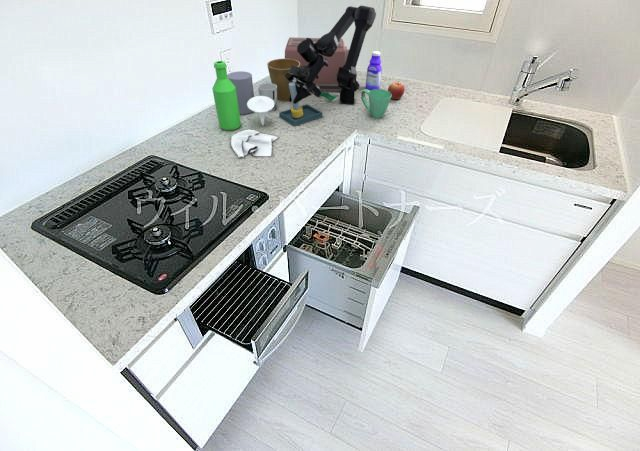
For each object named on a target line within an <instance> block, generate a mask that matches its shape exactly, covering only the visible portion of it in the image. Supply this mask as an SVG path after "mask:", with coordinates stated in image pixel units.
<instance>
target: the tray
mask: <svg viewBox="0 0 640 451" xmlns="http://www.w3.org/2000/svg"><path fill="white" fill-rule="evenodd" d="M300 106H301V107H302V110H303V116H301V117H299V118H294V117H293V116H292V112H291V108H289V109H286V110H281V111H279V112H278V116H279V118H280V119H281V120H283V121H285V122H287V123H288V124H290V125H292V126H294V127H296V126H299V125H302V124H305V123H308V122H311V121H314V120H317V119H320V118H323V111H321V110H319V109H317V108H315V107H313V106H311V105H309V103H305V104H302V105H300Z"/></svg>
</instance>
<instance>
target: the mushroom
mask: <svg viewBox="0 0 640 451" xmlns="http://www.w3.org/2000/svg"><path fill="white" fill-rule="evenodd" d="M247 106H248V108H249V109H250V110H252V111H254V113H255V114H257V116H258V117H259V118H258V119H259V120H260V123H261V124H260V125H261V126H262V127H263V126H265V119H266V115H267V113H268V112H270V111H269V110H271V109H272V108H273V107H274V101H273V100H272V99H271V98H269V97H266V96H260V95H256V96H254V97H253V98H251V99H250V100H249V101H248V102H247Z"/></svg>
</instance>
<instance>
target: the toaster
mask: <svg viewBox="0 0 640 451" xmlns="http://www.w3.org/2000/svg"><path fill="white" fill-rule="evenodd" d="M307 38H308V37H293V36H292V37H288V39H287V42H286V45H285V48H284V59H294V60H297V61H299V62H300V68H301V67H302V66H306V65H307V64H308V62H306V61H305V60H304V59H303V58H302V56H301V55H300V54H299V53H298V52H297V47H298V45H299V44H300V43H301V42H302V41H304V40H306V39H307ZM310 38H311V39H312V41H313V43H316V42H317V41H318V40H319V39H320V38H321V37H310ZM349 49H350V48H349ZM349 49H348V46H346V45H345V41H344V40H343V38H341V39H340V40H339V42H338V48H337V49H336V51H335V53H334V54H333V56H331V57H327V56H324V55H322V56H323V58H325V59H328V67H326V66H323V67H322V69H321V70H320V72H319V74H318V75H317V76H318V77H319V78H318V79H316V78H315V80H314V81H313V83H314V84H316V85H317V86H320V89H321V90H322V91H324V92H334V93H335V92H338V93H340V90H342V88H341V87H339V86H338V82H337V74H338V70H339V67H343V66H344V65H345V63H346V59H347V56H348V52H349ZM319 55H321V54H319Z"/></svg>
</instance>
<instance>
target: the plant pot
mask: <svg viewBox="0 0 640 451" xmlns="http://www.w3.org/2000/svg"><path fill="white" fill-rule="evenodd" d="M291 65H294V66H297V67H300V62H299V61H297V60H294V59H285V58H276V59H272V60H270V61H268V62H267V64H266V66H267V70H268V74H269V78H270V81H271V82H270V83H272V84H275V85H277V100H279V101H281V102H290V101H289V97H290V89H289V83H291V82H290V81H289V80H288V79H286V78H285V75H286V74H287V73H288V72H289V71H290V68H291Z"/></svg>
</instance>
